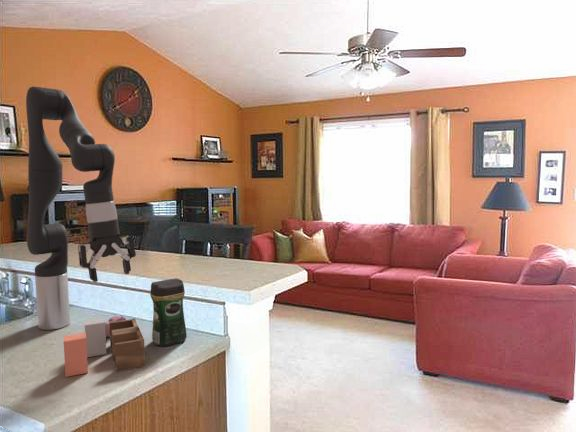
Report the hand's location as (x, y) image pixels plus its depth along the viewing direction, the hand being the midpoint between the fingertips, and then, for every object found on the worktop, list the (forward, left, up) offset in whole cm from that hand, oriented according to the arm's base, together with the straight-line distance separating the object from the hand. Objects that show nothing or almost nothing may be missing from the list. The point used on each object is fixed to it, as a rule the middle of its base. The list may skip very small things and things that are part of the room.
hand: (111, 277), depth 120 cm
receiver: (+3, +3, -21) cm, 22 cm away
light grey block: (-2, -5, -21) cm, 22 cm away
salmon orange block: (+8, -10, -21) cm, 25 cm away
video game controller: (-15, 0, -22) cm, 26 cm away
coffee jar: (-2, +15, -22) cm, 27 cm away
